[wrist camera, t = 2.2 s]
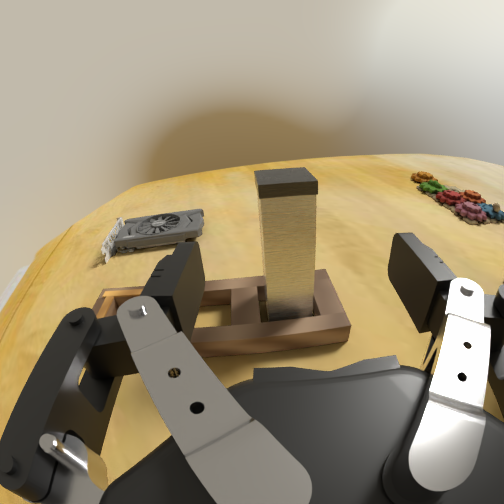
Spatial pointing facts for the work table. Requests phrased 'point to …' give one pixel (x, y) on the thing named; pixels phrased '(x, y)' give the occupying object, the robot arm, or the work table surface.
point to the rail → (252, 318)
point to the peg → (287, 240)
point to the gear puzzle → (459, 200)
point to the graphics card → (154, 231)
